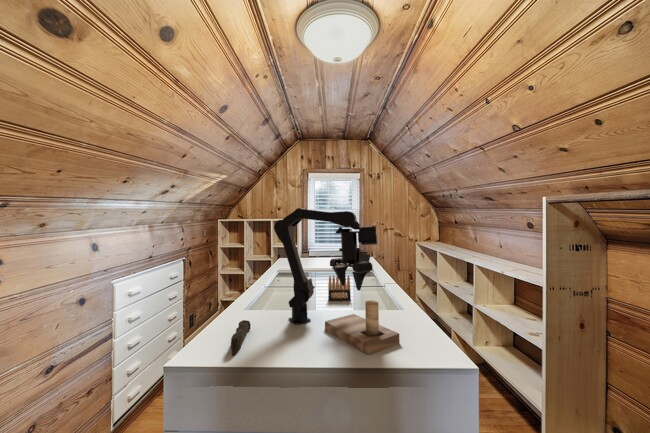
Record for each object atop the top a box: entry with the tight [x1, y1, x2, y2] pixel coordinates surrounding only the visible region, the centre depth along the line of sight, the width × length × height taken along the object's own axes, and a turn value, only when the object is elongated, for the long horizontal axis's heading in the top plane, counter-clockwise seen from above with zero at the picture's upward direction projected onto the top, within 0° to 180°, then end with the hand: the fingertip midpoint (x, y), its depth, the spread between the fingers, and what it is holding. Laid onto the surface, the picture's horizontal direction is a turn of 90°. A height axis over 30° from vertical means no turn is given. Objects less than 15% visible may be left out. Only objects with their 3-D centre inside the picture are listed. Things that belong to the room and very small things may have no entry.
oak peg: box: [364, 300, 380, 338], centre depth 86 cm, size 4×4×12 cm
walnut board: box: [324, 313, 400, 356], centre depth 91 cm, size 22×13×3 cm, turn 34°
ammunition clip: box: [327, 274, 352, 302], centre depth 132 cm, size 11×2×12 cm, turn 89°
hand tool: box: [230, 319, 251, 357], centre depth 88 cm, size 19×4×5 cm, turn 4°
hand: (350, 287), depth 102 cm, fingers open, 9 cm apart
